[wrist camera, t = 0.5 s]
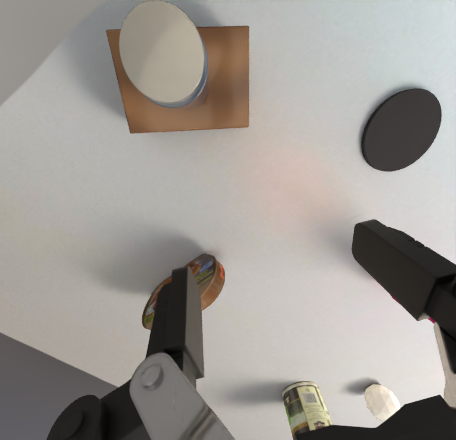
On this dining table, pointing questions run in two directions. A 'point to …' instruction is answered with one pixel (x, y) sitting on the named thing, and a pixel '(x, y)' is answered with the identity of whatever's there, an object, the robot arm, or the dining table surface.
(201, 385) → the dining table surface
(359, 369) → the dining table surface
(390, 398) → the geometric ball
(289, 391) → the coffee can
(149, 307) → the tin
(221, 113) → the shelf
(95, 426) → the robot arm
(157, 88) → the cylinder
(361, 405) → the dining table surface
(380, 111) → the mat
